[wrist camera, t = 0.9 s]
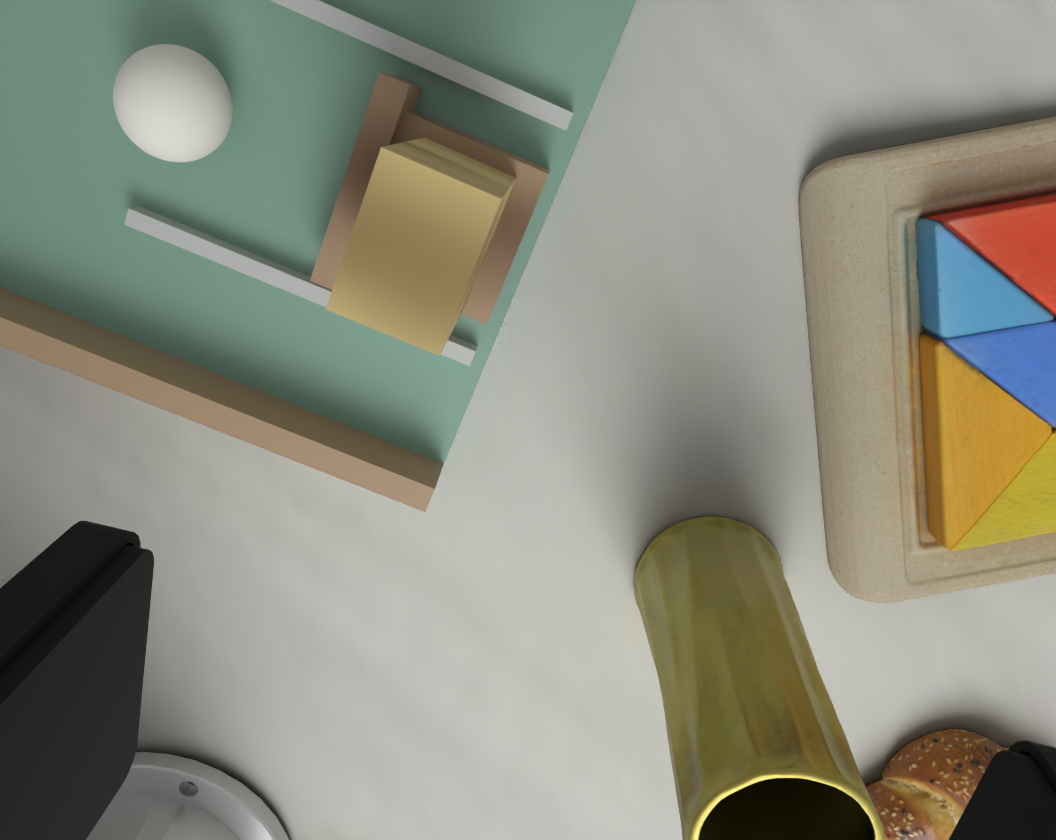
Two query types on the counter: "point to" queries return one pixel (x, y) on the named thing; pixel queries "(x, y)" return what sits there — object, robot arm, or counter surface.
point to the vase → (744, 693)
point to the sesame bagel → (931, 784)
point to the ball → (172, 103)
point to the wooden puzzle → (935, 360)
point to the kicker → (423, 222)
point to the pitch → (265, 208)
